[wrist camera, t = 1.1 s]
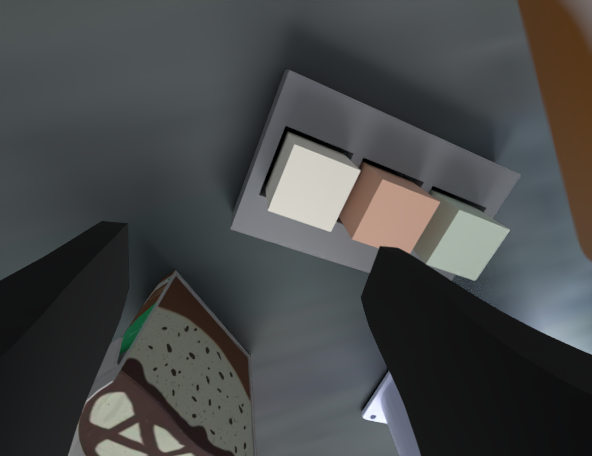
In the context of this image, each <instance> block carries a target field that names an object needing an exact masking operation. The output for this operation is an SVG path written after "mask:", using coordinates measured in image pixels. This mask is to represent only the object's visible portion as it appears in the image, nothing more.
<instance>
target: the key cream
mask: <svg viewBox="0 0 592 456" xmlns="http://www.w3.org/2000/svg"><path fill="white" fill-rule="evenodd" d="M360 171H361V170H360V169H359V168H358V167H357V166H356V165H355V164H354V163H353V162H352V161H351V160H349V159H348V158H347V157H346V156H345V155H344V154H343V153H340V152H338V151H335V150H333V149H330V148H328V147H326V146H323V145H321V144H318V143H316V142H313V141H311V140H308V139H306V138H303V137H301V136H298V135H296V134H293V133H291V132H289V131H287V134H286V136H285V139H284V142H283V144H282V147H281V149H280V152H279V154H278V157H277V159H276V162H275V165H274V167H273V170H272V172H271V175H270V177H269V180H268V182H267V185H266V188H265V189H266V199H267V209H268V211H270V212H273V213H276V214H279V215H282V216H285V217H288V218H291V219H294V220H297V221H300V222H302V223H305V224H308V225H311V226H314V227H317V228H320V229H323V230H326V231H329V232H331V231H332V229H333V227H334V225H335V223H336V221H337V219H338V217H339V214H340V212H341V210H342V208H343V206H344V204H345V202H346V200H347V198H348V196H349V194H350V192H351V190H352V188H353V186H354V184H355V182H356V180H357V177H358V175H359V173H360Z"/></svg>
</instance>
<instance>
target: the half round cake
mask: <svg viewBox="0 0 592 456" xmlns="http://www.w3.org/2000/svg"><path fill="white" fill-rule="evenodd" d="M68 456H257V453H256V437H255V421H254V405H253V389H252V373H251V356H250V355H249V354H248V353H247V352H246V350H245V349H244V348H243V347H242V346H241V345H240V344H239V342H238V341H237V340H236V339H235V338H234V337H233V335H232V334H231V333H230V332H229V331H228V330H227V329H226V327H225V326H224V325H223V324H222V323H221V322H220V320H219V319H218V318H217V317H216V316H215V315H214V313H213V312H212V311H211V310H210V309H209V308H208V307H207V305H206V304H205V303H204V302H203V301H202V300H201V298H200V297H199V296H198V295H197V294H196V293H195V292H194V290H193V289H192V288H191V287H190V286H189V285H188V283H187V282H186V281H185V280H184V279H183V278H182V276H181V275H180V274H179V273H178V272H177V271H176V270H174V271H173V272H171V273H170V274H168V275H167V276H166V277H164V278H163V279H162V280H161V281H160V282H159V284H158V285H157V286H156V287H155V289H154V290H153V291H152V293H151V294H150V295H149V297H148V298H147V300H146V301H145V303H144V305H143V306H142V308H141V309H140V311H139V312H138V314H137V315H136V317H135V318H134V320H133V322H132V323H131V325H130V326H129V328H128V329H127V331H126V332H125V334H124V335H123V337H122V339H121V338H118V339H117V340H115V341H114V342H112V343H111V344H110V345H109V348H108V350H107V353H106V355H105V357H104V360H103V362H102V364H101V367H100V369H99V371H98V374H97V376H96V379H95V381H94V383H93V386H92V388H91V390H90V393H89V395H88V397H87V400H86V403H85V405H84V408H83V411H82V413H81V416H80V419H79V422H78V425H77V429H76V432H75V435H74V438H73V442H72V445H71V448H70V451H69V454H68Z"/></svg>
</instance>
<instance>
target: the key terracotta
mask: <svg viewBox="0 0 592 456" xmlns="http://www.w3.org/2000/svg"><path fill="white" fill-rule="evenodd" d="M359 169H360V170H361V171H360V173H359V175H358V177H357V180H356V182H355V184H354V186H353V188H352V190H351V192H350V194H349V196H348V198H347V200H346V202H345V204H344V206H343V208H342V210H341V212H340V214H339V218H340V219H341V221H342V223H343V225H344V226H345V228H346V230H347V232H348V233H349V235H350V237H351V239H353V240H356V241H359V242H361V243H364V244H367V245H370V246H373V247H376V248H379V247H380V246H386V247H397V248H400V249H402V250H404V251H405V252H407V253H409V254H410V253H411V251H412V250H413V248H414V246H415V244H416V243H417V241H418V239H419V238H420V236H421V234H422V233H423V231H424V229H425V228H426V226H427V224H428V222H429V221H430V219H431V217H432V216H433V214H434V212H435V211H436V209H437V207H438V206H439V204H440V201H438V200H437V199H435V198H434V197H433V196H431V195H430V194H429V193H427V192H426V191H424V190H423V189H422V188H420V187H419V186H418V185H416V184H415V183H413V182H412V181H409V180H407V179H405V178H402V177H400V176H397V175H395V174H392V173H390V172H387V171H385V170H382V169H380V168H377V167H375V166H372V165H370V164H367V163H365V162H363V161H362V163H361V165H360V167H359Z"/></svg>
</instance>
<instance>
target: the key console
mask: <svg viewBox="0 0 592 456" xmlns="http://www.w3.org/2000/svg"><path fill="white" fill-rule="evenodd" d="M285 126H288V127H290V128H293V129H295V130H297V131H300V132H302V133H305V134H307V135H310V136H312V137H315V138H317V139H319V140H322V141H324V142H327V143H329V144H332V145H334V146H337V147H339V148H341V150H340V153H343V154H344V155H345V156H346V157H347V158H348V159H349V160H351V161H352V162H353V163H354V164H355V165H356V166H357V167H358V168H359V166H360V164H361V162H362V160H363V158H366V159H368V160H371V161H373V162H376V163H378V164H381V165H383V166H386V167H388V168H390V169H393V170H395V171H398V172H400V173H403V174H405V175H404V177H403V178H405V179H407V180H409V181H412V182H413V183H415V184H416V185H418V186H419V187H420V188H422V189H423V190H424V191H426V192H427V193H429V191H430V190H431V188H432V186H434V187H437V188H439V189H442V190H444V191H447V192H449V193H452V194H454V195H456V196H459V197H461V198H462V199H461V202H464V203H466V204H469V205H471V206H474V207H475V208H477V209H478V210H480V211H481V212H483V213H485V214H486V215H488V216H489V217H491V218H492V219H493V218H494V216H495V214H496V213H497V211H498V210H499V208H500V207H501V205H502V204H503V202H504V201H505V199H506V198H507V196H508V195H509V193H510V192H511V190H512V189H513V187H514V186H515V184H516V183H517V181H518V180H519V178H520V177H521V175H520V174H518V173H516V172H514V171H512V170H509V169H507V168H505V167H503V166H501V165H498V164H496V163H494V162H492V161H490V160H487V159H485V158H483V157H481V156H479V155H476V154H474V153H472V152H470V151H467V150H465V149H463V148H461V147H459V146H456V145H454V144H452V143H450V142H448V141H445V140H443V139H441V138H439V137H437V136H434V135H432V134H430V133H428V132H426V131H423V130H421V129H419V128H417V127H415V126H412V125H410V124H408V123H406V122H403V121H401V120H399V119H397V118H395V117H392V116H390V115H388V114H386V113H384V112H381V111H379V110H377V109H375V108H373V107H370V106H368V105H366V104H364V103H362V102H359V101H357V100H355V99H353V98H350V97H348V96H346V95H344V94H342V93H339V92H337V91H335V90H333V89H331V88H328V87H326V86H324V85H322V84H320V83H317V82H315V81H313V80H311V79H309V78H306V77H304V76H302V75H300V74H298V73H295V72H293V71H291V70H287V69H285V71H284V74H283V77H282V79H281V82H280V85H279V87H278V90H277V93H276V96H275V98H274V101H273V104H272V107H271V109H270V112H269V115H268V118H267V120H266V123H265V126H264V129H263V131H262V134H261V137H260V140H259V142H258V145H257V148H256V150H255V153H254V156H253V159H252V161H251V164H250V167H249V170H248V172H247V175H246V178H245V181H244V183H243V186H242V189H241V192H240V194H239V197H238V200H237V202H236V205H235V208H234V211H233V214H232V222H231V230H234V231H237V232H241V233H244V234H247V235H250V236H253V237H256V238H260V239H263V240H266V241H269V242H272V243H275V244H279V245H282V246H285V247H288V248H291V249H294V250H298V251H301V252H304V253H307V254H310V255H313V256H317V257H320V258H323V259H326V260H329V261H332V262H336V263H339V264H342V265H345V266H348V267H351V268H354V269H358V270H361V271H364V272H367V273H370V271H371V269H372V266H373V263H374V260H375V258H376V255H377V252H378V250H379V248H376V247H373V246H370V245H367V244H364V243H361V242H359V241H356V240H353V239H351V237H350V235H349V233H348V232H347V230H346V228H345V226H344V225H343V223H342V221H341V219H340V218H339V217H338V219H337V221H336V223H335V225H334V227H333V229H332V231H331V232H329V231H326V230H323V229H320V228H317V227H314V226H311V225H308V224H305V223H302V222H300V221H297V220H294V219H291V218H288V217H285V216H282V215H279V214H276V213H273V212H270V211H268V209H267V199H266V189H265V188H266V184H263V183H264V180H265V177H266V175H267V172H268V170H269V167H270V165H271V162H272V159H273V157H274V154H275V152H276V149H277V146H278V144H279V141H280V139H281V136H282V134H283V131H284V128H285ZM410 254H411V255H412V256H414V257H416V258H417V259H419V260H420V261H422V262H423V260H422V259H421V258H420V257H419V256H418V255H417V254H416V252H415V251H414V250H412V251H411V253H410ZM428 266H429V265H428ZM430 267H431V268H433V269H434V270H436V271H437V272H439V273H440V274H442V275H443V276H445V277H446V278H448V279H449V280H451V281H452V280H453V278H454V277H455V275H456V274H453V273H450V272H447V271H444V270H441V269H438V268H435V267H432V266H430Z"/></svg>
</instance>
